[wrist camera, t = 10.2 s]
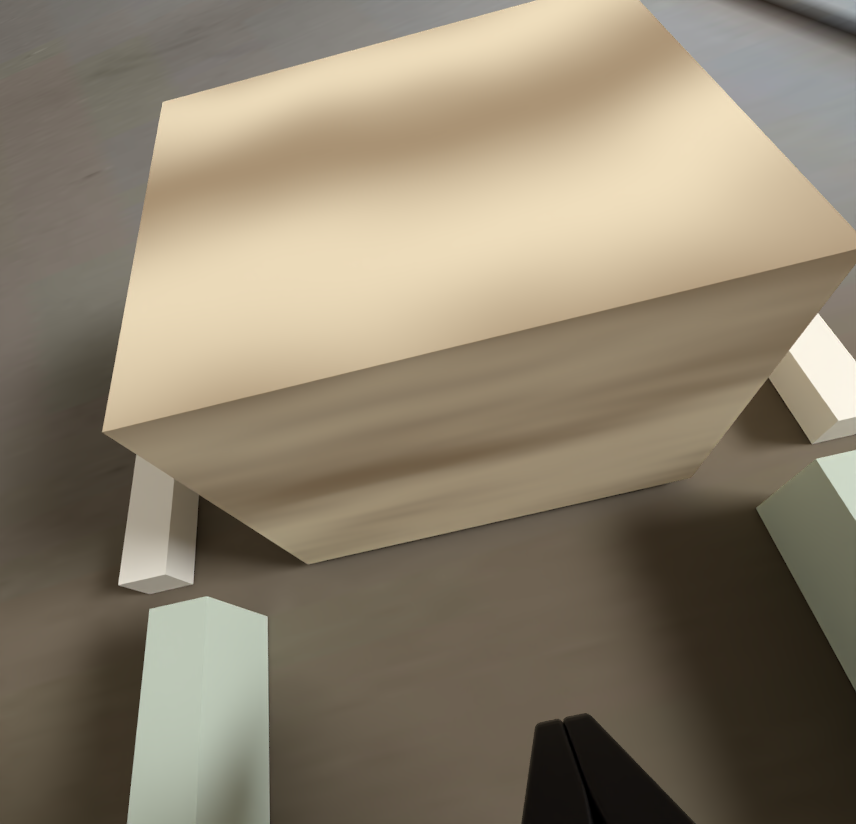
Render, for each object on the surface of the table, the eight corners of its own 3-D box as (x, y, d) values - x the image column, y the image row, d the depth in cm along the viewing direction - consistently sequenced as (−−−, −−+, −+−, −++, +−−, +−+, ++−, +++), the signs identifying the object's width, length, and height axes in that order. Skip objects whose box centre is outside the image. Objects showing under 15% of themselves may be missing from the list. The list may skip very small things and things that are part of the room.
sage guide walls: (1060, 911, 10) (1289, 1001, 7) (206, 1066, 11) (86, 1205, 8) (807, 496, 15) (880, 444, 12) (221, 626, 16) (149, 608, 13)
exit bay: (860, 432, 15) (892, 408, 14) (149, 594, 16) (118, 585, 15) (673, 171, 22) (682, 139, 21) (181, 296, 23) (161, 272, 22)
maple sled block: (691, 477, 15) (869, 245, 7) (307, 564, 16) (101, 432, 8) (580, 253, 20) (618, -22, 13) (295, 324, 21) (162, 101, 13)
